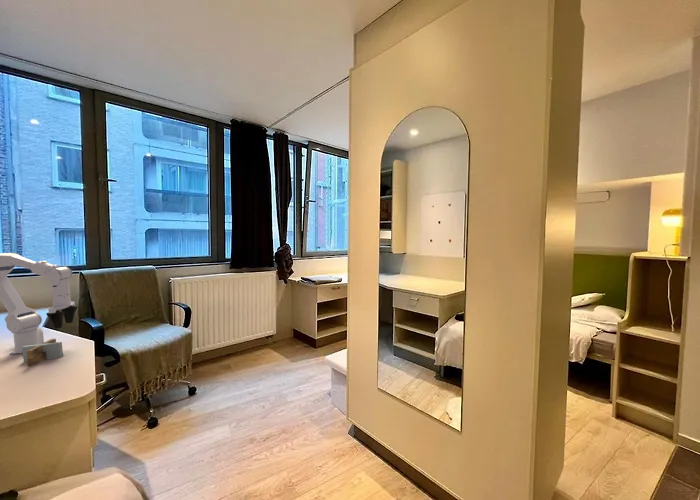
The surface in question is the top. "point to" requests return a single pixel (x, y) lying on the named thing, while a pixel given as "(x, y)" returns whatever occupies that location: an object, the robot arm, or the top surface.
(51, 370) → the top surface
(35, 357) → the walnut plate
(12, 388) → the top surface
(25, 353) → the pale green bar
